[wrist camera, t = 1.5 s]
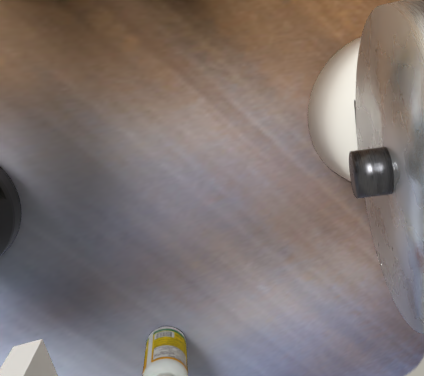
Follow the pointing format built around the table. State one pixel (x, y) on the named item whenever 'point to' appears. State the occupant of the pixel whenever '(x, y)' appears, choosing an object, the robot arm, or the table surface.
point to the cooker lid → (393, 148)
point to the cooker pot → (335, 110)
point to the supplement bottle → (165, 353)
